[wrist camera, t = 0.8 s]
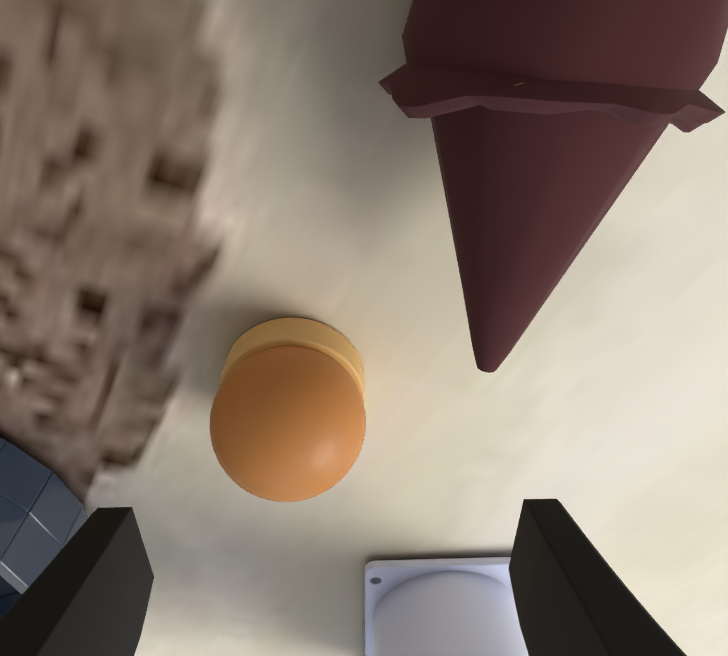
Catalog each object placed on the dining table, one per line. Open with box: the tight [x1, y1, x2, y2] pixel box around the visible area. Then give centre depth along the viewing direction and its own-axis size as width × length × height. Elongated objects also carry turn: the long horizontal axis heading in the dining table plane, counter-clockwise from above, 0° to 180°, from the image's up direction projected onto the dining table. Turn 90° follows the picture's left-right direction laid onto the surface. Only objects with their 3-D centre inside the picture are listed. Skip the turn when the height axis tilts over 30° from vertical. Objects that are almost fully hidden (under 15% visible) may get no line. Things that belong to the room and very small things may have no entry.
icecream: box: [379, 0, 728, 373], centre depth 12 cm, size 7×7×15 cm
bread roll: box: [210, 318, 366, 502], centre depth 18 cm, size 5×5×5 cm
